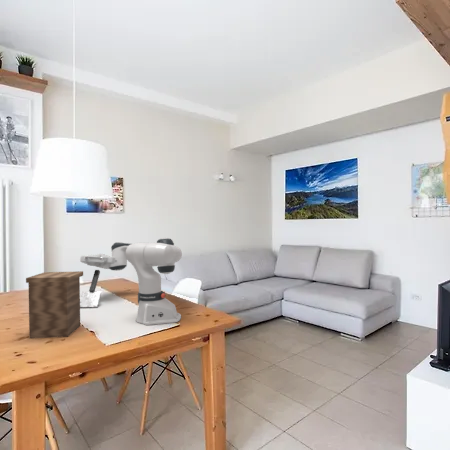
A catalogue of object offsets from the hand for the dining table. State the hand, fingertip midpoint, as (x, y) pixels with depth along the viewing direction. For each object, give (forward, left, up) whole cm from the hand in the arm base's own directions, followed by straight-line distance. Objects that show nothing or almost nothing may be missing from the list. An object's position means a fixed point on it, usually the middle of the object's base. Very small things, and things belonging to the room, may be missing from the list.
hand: (93, 258), depth 188 cm
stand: (+1, +45, -28) cm, 53 cm away
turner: (+1, -3, -19) cm, 20 cm away
